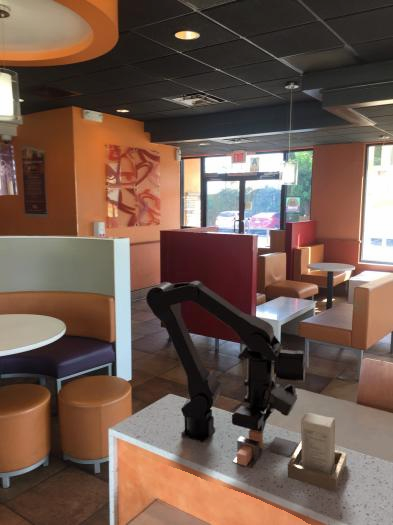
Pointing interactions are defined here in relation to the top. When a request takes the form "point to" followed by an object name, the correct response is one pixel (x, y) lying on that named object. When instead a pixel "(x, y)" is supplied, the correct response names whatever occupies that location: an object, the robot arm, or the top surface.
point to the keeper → (256, 450)
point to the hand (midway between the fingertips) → (259, 437)
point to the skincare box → (318, 443)
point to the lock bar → (246, 451)
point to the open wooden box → (315, 476)
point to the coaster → (282, 446)
